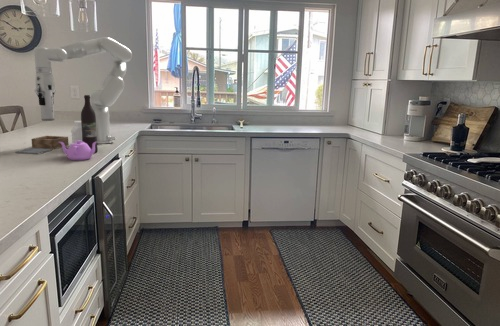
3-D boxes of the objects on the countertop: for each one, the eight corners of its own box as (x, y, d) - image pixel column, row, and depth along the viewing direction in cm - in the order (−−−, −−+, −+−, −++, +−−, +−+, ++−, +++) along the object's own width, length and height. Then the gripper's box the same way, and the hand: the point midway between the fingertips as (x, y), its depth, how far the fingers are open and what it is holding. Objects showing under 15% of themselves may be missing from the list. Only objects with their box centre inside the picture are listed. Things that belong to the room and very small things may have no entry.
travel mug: (39, 120, 201) (35, 83, 196) (52, 119, 205) (49, 83, 201) (43, 121, 196) (39, 83, 192) (56, 120, 201) (53, 83, 197)
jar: (70, 149, 198) (68, 122, 195) (75, 146, 208) (73, 120, 204) (93, 149, 201) (91, 122, 197) (96, 146, 210) (95, 120, 207)
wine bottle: (81, 153, 189) (77, 95, 182) (85, 151, 195) (81, 94, 189) (95, 153, 190) (92, 95, 183) (99, 151, 196) (96, 95, 190)
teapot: (98, 158, 180) (98, 140, 178) (70, 162, 169) (69, 143, 167) (87, 154, 187) (86, 137, 185) (59, 158, 177) (58, 140, 175)
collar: (68, 145, 211) (68, 136, 210) (54, 149, 198) (53, 140, 197) (47, 144, 212) (46, 135, 211) (32, 147, 199) (31, 138, 198)
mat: (52, 150, 196) (52, 148, 195) (37, 154, 184) (37, 153, 184) (31, 148, 197) (31, 147, 196) (15, 152, 185) (15, 151, 185)
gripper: (39, 70, 186) (42, 106, 190) (60, 71, 203) (62, 104, 207) (25, 70, 187) (29, 105, 191) (47, 71, 204) (50, 103, 208)
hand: (46, 104), depth 199 cm, fingers closed on travel mug, 6 cm apart
